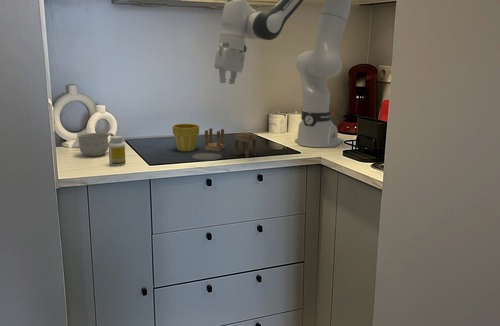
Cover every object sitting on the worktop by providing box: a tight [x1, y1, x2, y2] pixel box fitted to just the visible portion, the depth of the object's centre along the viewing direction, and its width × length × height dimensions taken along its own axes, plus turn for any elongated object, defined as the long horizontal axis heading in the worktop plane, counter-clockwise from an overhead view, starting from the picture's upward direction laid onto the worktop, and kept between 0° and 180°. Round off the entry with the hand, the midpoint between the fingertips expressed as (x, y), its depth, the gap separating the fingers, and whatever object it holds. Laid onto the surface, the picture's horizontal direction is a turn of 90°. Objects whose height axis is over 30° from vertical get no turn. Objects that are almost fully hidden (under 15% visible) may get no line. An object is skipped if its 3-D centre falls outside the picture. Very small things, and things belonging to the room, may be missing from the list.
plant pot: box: [172, 123, 200, 152], centre depth 199 cm, size 10×10×10 cm
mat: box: [191, 152, 223, 162], centre depth 187 cm, size 11×11×1 cm
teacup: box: [77, 132, 115, 157], centre depth 189 cm, size 14×11×8 cm
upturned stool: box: [204, 127, 225, 152], centre depth 201 cm, size 6×6×8 cm
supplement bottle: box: [108, 135, 126, 167], centre depth 174 cm, size 5×5×10 cm
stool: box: [233, 132, 258, 158], centre depth 191 cm, size 6×6×8 cm
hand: (227, 83), depth 182 cm, fingers open, 8 cm apart
